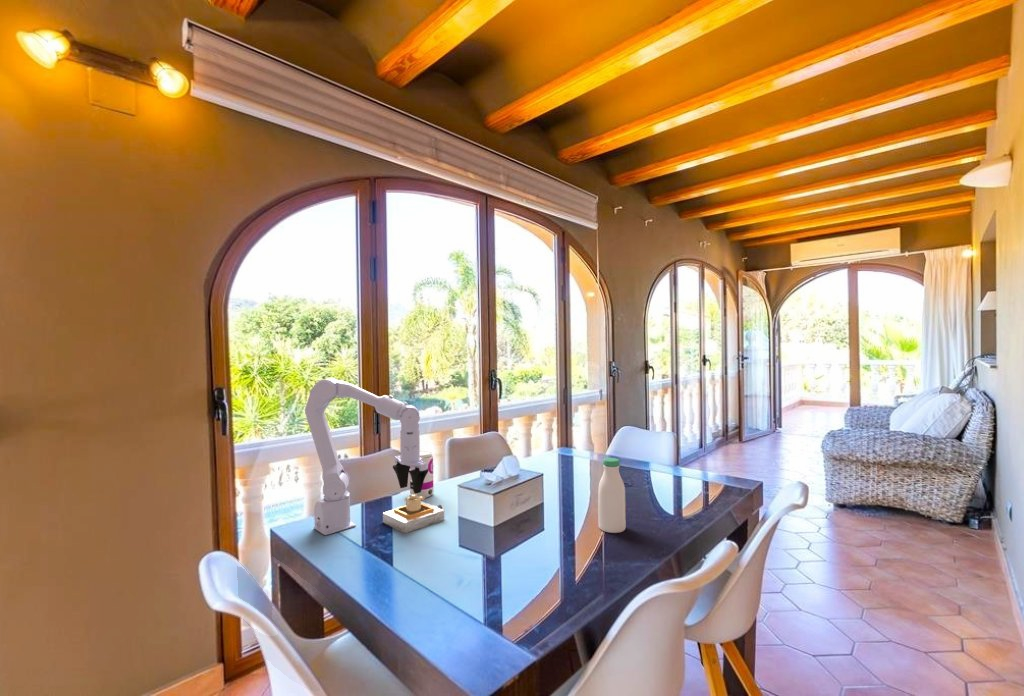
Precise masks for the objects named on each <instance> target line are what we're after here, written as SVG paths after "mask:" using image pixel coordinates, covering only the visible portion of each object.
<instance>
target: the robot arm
mask: <svg viewBox="0 0 1024 696" xmlns="http://www.w3.org/2000/svg"><path fill="white" fill-rule="evenodd" d="M336 397H337V399H343V398H351V399H353V400H356V401H359V402H362V403H364V404H366V405H369V406H372V407H374V408H375V412H376V413H377V414H379V415H382V416H384V417H387V418H389V419H391V420H393V421H399V422H400V432H399V434H400V436H399V437H400V440H399V442H400V444H399V445H400V455H397V456H396V455H395V456H394V463H395V464H394V465H392V469H393V471H394V472H395V475H396V477H397V480H398V484H399V488H400V489H405V488H407V487H408V485H409V476H410V475H411V478H412V482H413V491H414V493H415V494H416V493H420V492H421V490H422V485H423V482H424V479H425V476H426V475H427V473H428V469H427V464H426V463H424V462H423V461H422V460H423V459H422V458H420V451H421V450H420V447H421V445H420V443H421V442H420V424H419V422H420V418H421V416H420V411H419V409H418V408H417V407H416V406H414V404H408V402H407V401H404V402H402V401H401V400H398V399H395V398H394V395H392V394H389V395H386V394H384V395H382V396H378V395H376V394H374V393H371V392H370V391H367V390H366V389H363V388H361V387H359V386H357V385H355V384H353V383H349V382H347V381H344V380H341V379H339V380H338V379H337V378H335V377H331V376H330V377H329V376H328V377H326V378H324V379H321V380H319V381H317V382H316V383H315V384H314V385H313V386H312V388H311V389H310V391H309V396H308V399H307V402H306V406H305V408H304V412H305V414H304V415H305V417H306V420H307V424H308V426H309V430H310V433H311V436H312V441H313V443H314V446H315V450H316V453H317V455H318V459H319V462H320V466H321V469H322V470H321V471H322V481H323V485H322V493H323V498H322V499H320V500H319V501H316V502H315V504H314V509H313V510H314V513H313V515H314V526H313V529H315V530H316V531H318V532H319V533H320V534H322V535H324V536H327V535H330V534H334V533H337V532H341V531H344V530H348V529H351V528H354V527H356V526H357V525H356V523H354V522H353V521H351V503H350V502H351V493H350V492H349V491H348V489H347V488H348V487H349V485H350V482H351V478H350V475H349V474H348V472H346V471H345V470H344V469H345V468H344V465H342V463H341V462H340V460H339V459H340V458H339V456H338V453H337V448H336V446H335V443H334V440H333V436H332V433H331V430H330V426H329V423H328V420H327V416H326V413H325V412H326V410H327V408H328V406H329V405H330V403H331V402H332V401H333V400H334V399H335V398H336ZM410 467H413V468H415V470H410Z"/></svg>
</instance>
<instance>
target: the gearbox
mask: <svg viewBox="0 0 1024 696" xmlns="http://www.w3.org/2000/svg"><path fill="white" fill-rule="evenodd" d="M442 521H445V509H443V506H442V505H441V504H438V505H433V504H430V503H427V502H424V501H423V500H421V512H418V513H415V514H412V515H409V514H407V513H406V505H403V506H399V507H397V508H396V507H395V508H393V509H391V510H387V511H385V512H384V511H383V512H382V523H384V524H385V525H387V526H389V527H391V528H393V529H395V530H396V531H400V532H401V533H402V534H408V533H410V532H413V531H416V530H419V529H422V528H425V527H428V526H430V525H433V524H436V523H440V522H442Z"/></svg>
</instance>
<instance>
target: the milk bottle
mask: <svg viewBox="0 0 1024 696" xmlns="http://www.w3.org/2000/svg"><path fill="white" fill-rule="evenodd" d="M602 463H603V464H602V465H603V472H602V475H601V478H600V480H599V483H598V491H597V492H598V493H597V495H598V496H597V498H598V499H597V500H598V501H597V505H598V507H597V513H598V514H597V515H598V516H597V518H598V520H597V521H598V528H599V530H601V531H603V532H606V533H609V534H617V533H622V532H624V531H625V530H626V529H627V528H626V527H627V525H626V524H627V523H626V519H627V517H626V514H627V513H626V511H627V510H626V509H627V508H626V507H627V506H626V505H627V504H626V487H625V483H624V480H623V479H622V476H621V474H620V470H619V469H620V464H621V463H620V459H619V458H616V457H606V458H603V461H602Z"/></svg>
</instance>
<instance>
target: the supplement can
mask: <svg viewBox="0 0 1024 696" xmlns="http://www.w3.org/2000/svg"><path fill="white" fill-rule="evenodd" d="M420 458H422V459H423V460H422V461H423V462H424V463H426V464H427V469H428V473H427V475H426V476H425V479H424V482H423V485H422V490H421V492H420V493H416V494H417V496H419V497H422V496H424V497H425V499H426V498H430V497H431V496H432V495H433V494H434V491H435V490H434V456H433V454H432V452H431V451H428V450H420ZM410 470H415V468H413V467H410ZM410 470H409V471H410ZM411 494H415V493H414V491H413V482H412V478H411V475H410V474H409V495H411Z"/></svg>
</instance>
